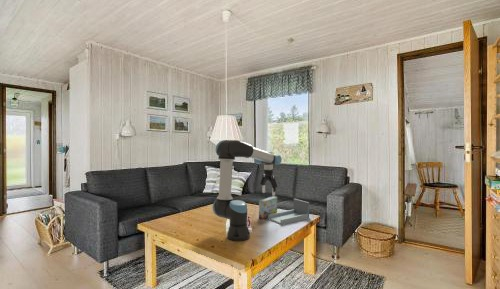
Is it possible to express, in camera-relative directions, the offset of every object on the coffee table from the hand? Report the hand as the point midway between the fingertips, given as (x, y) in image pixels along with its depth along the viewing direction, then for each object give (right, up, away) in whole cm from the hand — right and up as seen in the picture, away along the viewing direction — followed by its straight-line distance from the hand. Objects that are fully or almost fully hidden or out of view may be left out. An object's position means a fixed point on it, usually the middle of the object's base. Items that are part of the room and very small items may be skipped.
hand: (268, 194), depth 218 cm
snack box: (0, -19, 0) cm, 19 cm away
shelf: (+16, -19, -8) cm, 26 cm away
